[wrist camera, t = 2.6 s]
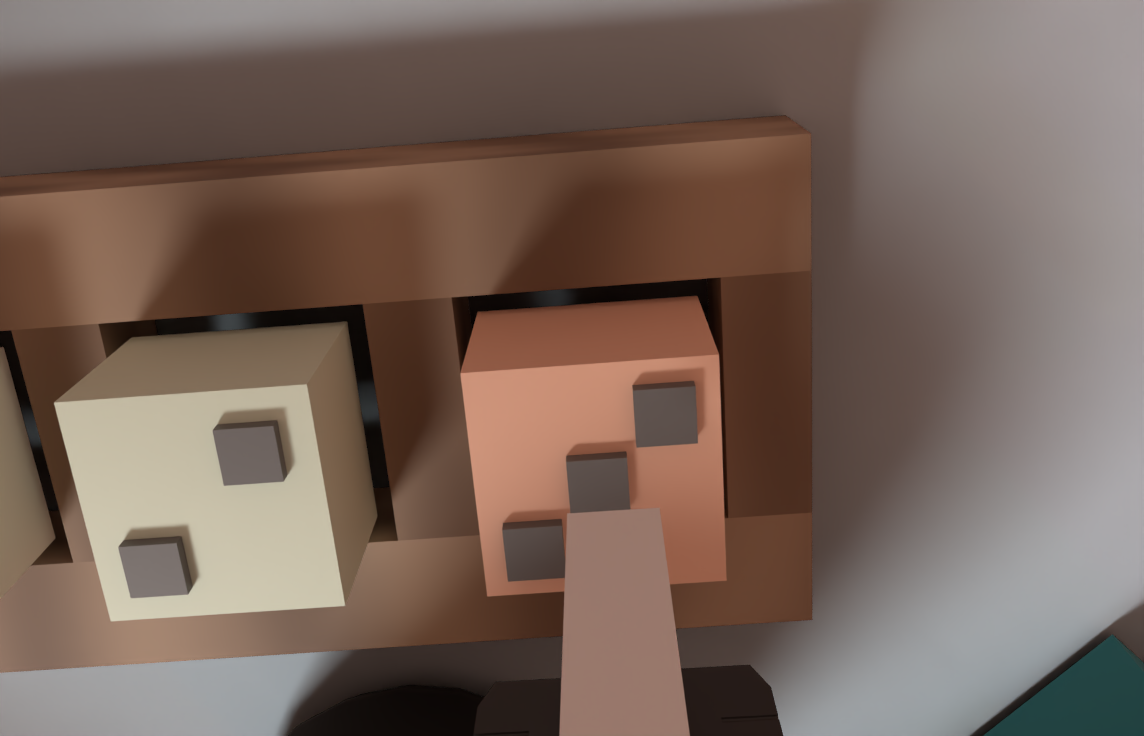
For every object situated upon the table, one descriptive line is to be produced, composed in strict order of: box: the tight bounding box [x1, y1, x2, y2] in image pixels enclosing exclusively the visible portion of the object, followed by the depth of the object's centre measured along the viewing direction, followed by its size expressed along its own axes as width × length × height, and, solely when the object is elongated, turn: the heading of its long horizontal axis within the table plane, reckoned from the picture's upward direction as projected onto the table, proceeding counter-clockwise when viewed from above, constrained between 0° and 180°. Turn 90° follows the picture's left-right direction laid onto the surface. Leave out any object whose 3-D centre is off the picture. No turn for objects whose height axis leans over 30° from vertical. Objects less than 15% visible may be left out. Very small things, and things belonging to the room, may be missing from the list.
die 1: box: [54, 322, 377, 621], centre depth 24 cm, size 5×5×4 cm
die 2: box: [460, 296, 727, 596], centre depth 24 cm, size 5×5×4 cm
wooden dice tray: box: [0, 115, 812, 673], centre depth 27 cm, size 26×12×3 cm, turn 94°
